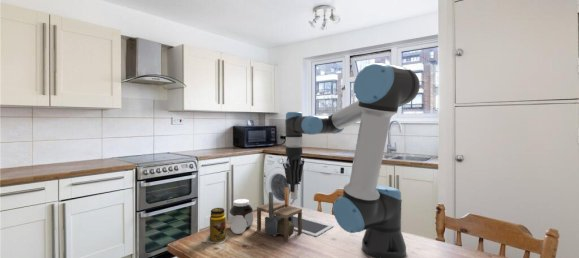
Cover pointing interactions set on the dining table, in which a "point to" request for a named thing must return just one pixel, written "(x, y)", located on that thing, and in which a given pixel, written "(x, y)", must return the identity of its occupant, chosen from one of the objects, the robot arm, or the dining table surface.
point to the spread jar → (240, 216)
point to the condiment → (217, 226)
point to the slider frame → (272, 220)
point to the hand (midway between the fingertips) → (294, 198)
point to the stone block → (281, 227)
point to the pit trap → (311, 226)
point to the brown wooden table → (284, 213)
